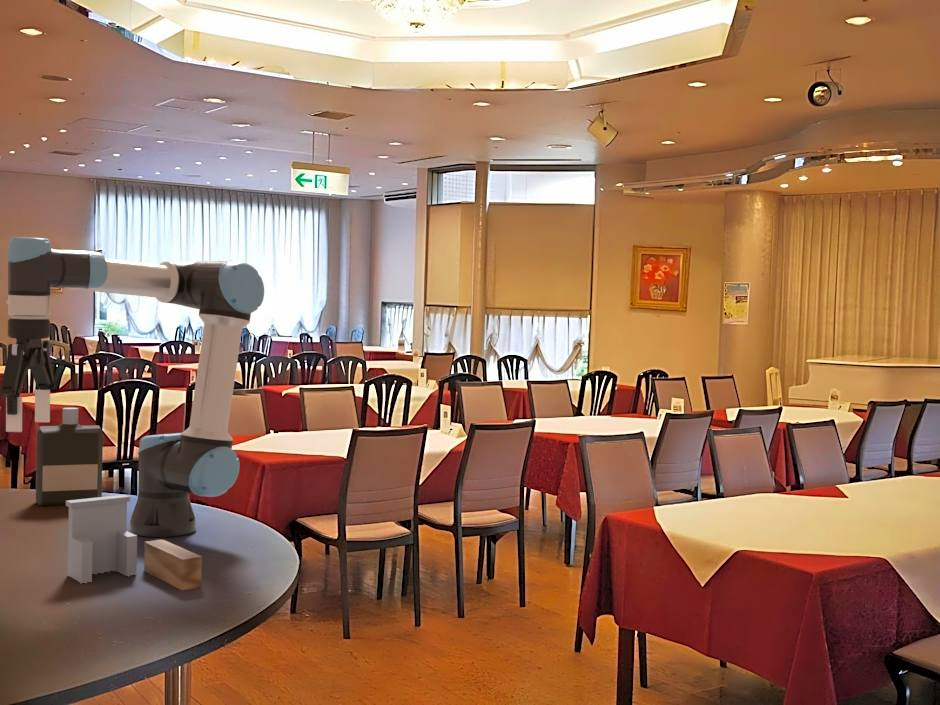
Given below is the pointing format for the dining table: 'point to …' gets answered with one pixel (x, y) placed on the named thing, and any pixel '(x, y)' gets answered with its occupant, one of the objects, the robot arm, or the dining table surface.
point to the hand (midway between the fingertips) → (28, 426)
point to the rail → (173, 564)
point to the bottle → (68, 461)
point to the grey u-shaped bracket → (100, 538)
